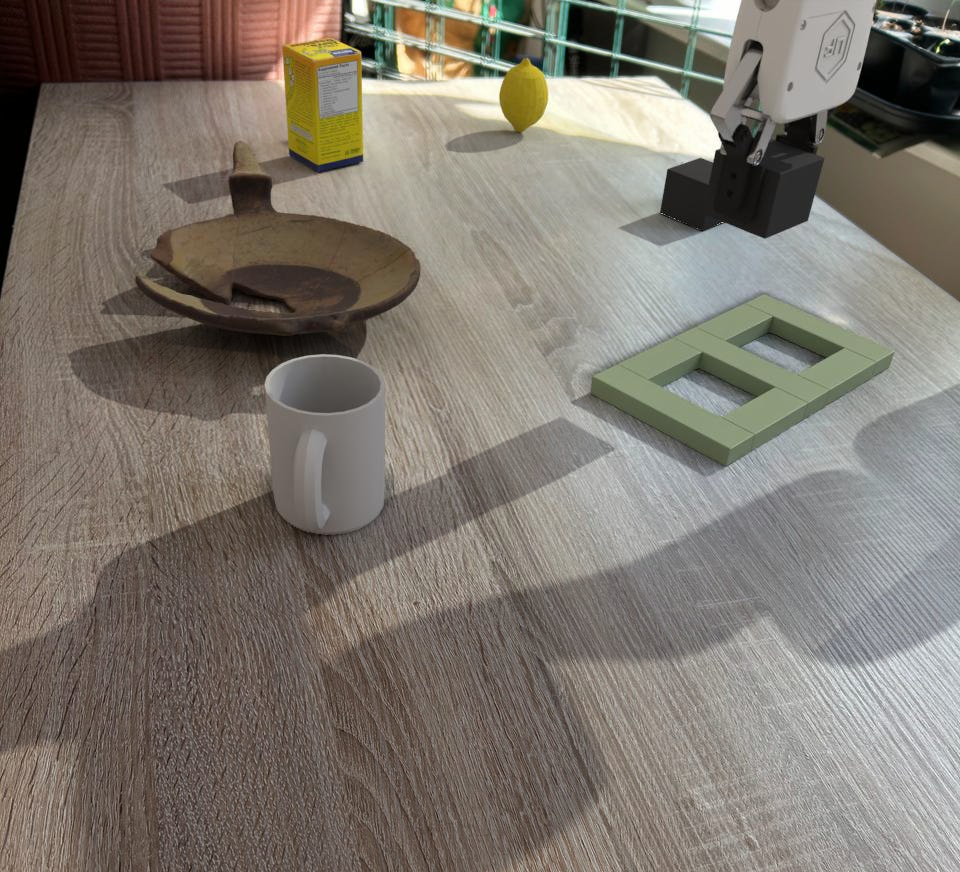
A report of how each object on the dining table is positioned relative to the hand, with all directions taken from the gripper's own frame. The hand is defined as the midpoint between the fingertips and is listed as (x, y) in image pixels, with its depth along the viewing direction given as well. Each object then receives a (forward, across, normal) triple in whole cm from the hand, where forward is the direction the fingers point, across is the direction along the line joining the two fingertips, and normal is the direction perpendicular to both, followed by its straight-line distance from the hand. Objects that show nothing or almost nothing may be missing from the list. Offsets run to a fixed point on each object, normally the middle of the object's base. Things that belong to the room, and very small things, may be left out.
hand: (759, 203), depth 79 cm
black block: (+1, 0, 0) cm, 1 cm away
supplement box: (+14, +4, +55) cm, 57 cm away
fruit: (+14, +28, +49) cm, 58 cm away
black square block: (+14, +25, +21) cm, 35 cm away
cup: (+14, -36, +5) cm, 39 cm away
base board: (+14, +1, -2) cm, 14 cm away
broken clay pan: (+14, -19, +31) cm, 39 cm away
